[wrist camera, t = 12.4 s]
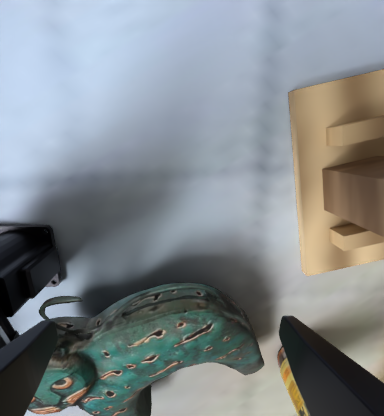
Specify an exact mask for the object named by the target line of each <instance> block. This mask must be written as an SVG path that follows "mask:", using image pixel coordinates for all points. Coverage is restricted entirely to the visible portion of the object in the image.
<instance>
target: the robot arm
mask: <svg viewBox="0 0 384 416" xmlns="http://www.w3.org/2000/svg"><path fill="white" fill-rule="evenodd" d="M45 229H46V230H47V232H48V233H47V232H45ZM60 270H61V269H60V263H59V257H58V251H57V248H56V246H55V240H54V235H53V230H52V228H51V227H50V226H48V225H0V416H24V415H25V413H26V411H27V409H28V407H29V405H30V403H31V401H32V399H33V397H34V395H35V393H36V391H37V389H38V387H39V385H40V383H41V380H42V378H43V376H44V373H45V371H46V369H47V366H48V364H49V361H50V359H51V357H52V354H53V352H54V350H55V347H56V345H57V342H58V334H57V328H56V323H55V321H53V320H44V321H41V322H40V323H38V324H37V325H35V326H34V327H32V328H31V329H29V330H28V331H26V332H25V333H23V334H22V335H19V333H18V332H17V331H15V330H14V329H13V327H12V325H11V324H10V322H9V320H8V319H7V317H12V316H13V315H14V314H15V313H16V312H17V311H18V310H19V309H20V308H21V307H22V306H23V305H24V304H25V303H26V302H27V301H28V300H29V299H33V298H34V297H35V296H36V295H37V294H38V293H39V292H40V291H41V290H42V289H43V288H44V287H55V286H58V285H59V284H60V282H61V275H60ZM54 280H55V281H56V282H55V281H54ZM279 336H280V340H281V342H282V345H283V348H284V351H285V354H286V357H287V360H288V363H289V366H290V369H291V372H292V374H293V377H294V380H295V382H296V385H297V387H298V389H299V391H300V394H301V396H302V398H303V400H304V403H305V405H306V407H307V409H308V412H309V414H310V416H384V383H383V382H381V381H380V380H379V379H377V378H376V377H375V376H373V375H372V374H371V373H369V372H368V371H367V370H365V369H364V368H363V367H361V366H360V365H359V364H357V363H356V362H355V361H353V360H352V359H351V358H349V357H348V356H346V355H345V354H344V353H342V352H341V351H340V350H338V349H337V348H336V347H334V346H333V345H332V344H330V343H329V342H328V341H326V340H325V339H324V338H322V337H321V336H320V335H318V334H317V333H315V332H314V331H313V330H311V329H310V328H309V327H307V326H306V325H305V324H303V323H302V322H301V321H299V320H298V319H297V318H295V317H294V316H283V317H282V319H281V324H280V330H279Z"/></svg>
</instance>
